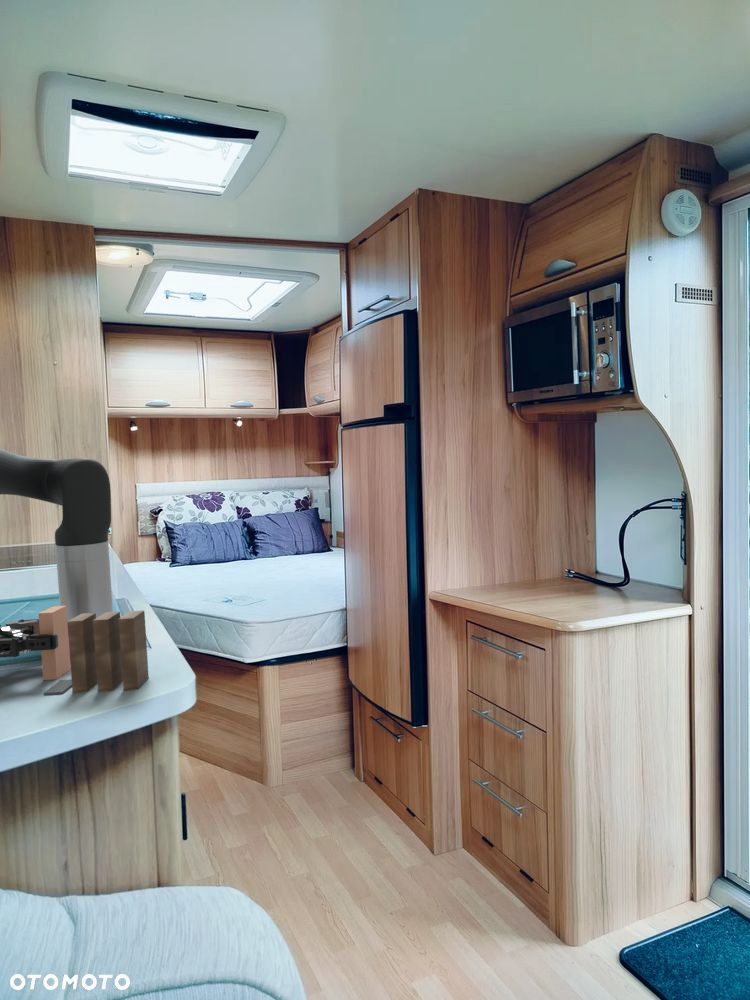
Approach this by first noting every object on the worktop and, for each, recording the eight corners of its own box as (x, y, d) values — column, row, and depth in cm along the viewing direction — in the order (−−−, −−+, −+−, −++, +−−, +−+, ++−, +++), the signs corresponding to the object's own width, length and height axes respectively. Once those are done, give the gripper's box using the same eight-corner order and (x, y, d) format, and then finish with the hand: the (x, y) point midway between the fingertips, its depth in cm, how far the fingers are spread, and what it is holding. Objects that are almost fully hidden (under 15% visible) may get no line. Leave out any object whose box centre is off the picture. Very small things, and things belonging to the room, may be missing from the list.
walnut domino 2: (98, 691, 95) (93, 620, 94) (110, 680, 100) (106, 612, 99) (112, 690, 95) (107, 619, 94) (124, 679, 100) (120, 611, 99)
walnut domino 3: (123, 690, 95) (118, 618, 94) (134, 678, 100) (130, 611, 99) (138, 689, 95) (133, 618, 94) (148, 678, 100) (144, 610, 99)
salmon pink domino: (43, 680, 101) (38, 613, 101) (57, 669, 106) (53, 606, 106) (56, 679, 101) (52, 612, 101) (70, 669, 106) (66, 605, 106)
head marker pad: (43, 694, 94) (43, 692, 94) (60, 682, 100) (60, 679, 100) (62, 693, 94) (62, 691, 94) (78, 681, 100) (78, 679, 100)
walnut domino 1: (72, 692, 95) (67, 621, 94) (86, 681, 100) (81, 613, 99) (87, 692, 95) (82, 620, 94) (100, 680, 100) (95, 612, 99)
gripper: (-74, 627, 96) (45, 620, 96) (-19, 605, 110) (85, 600, 111) (-69, 679, 96) (49, 673, 97) (-15, 651, 110) (88, 646, 111)
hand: (68, 634), depth 104 cm, fingers open, 7 cm apart
